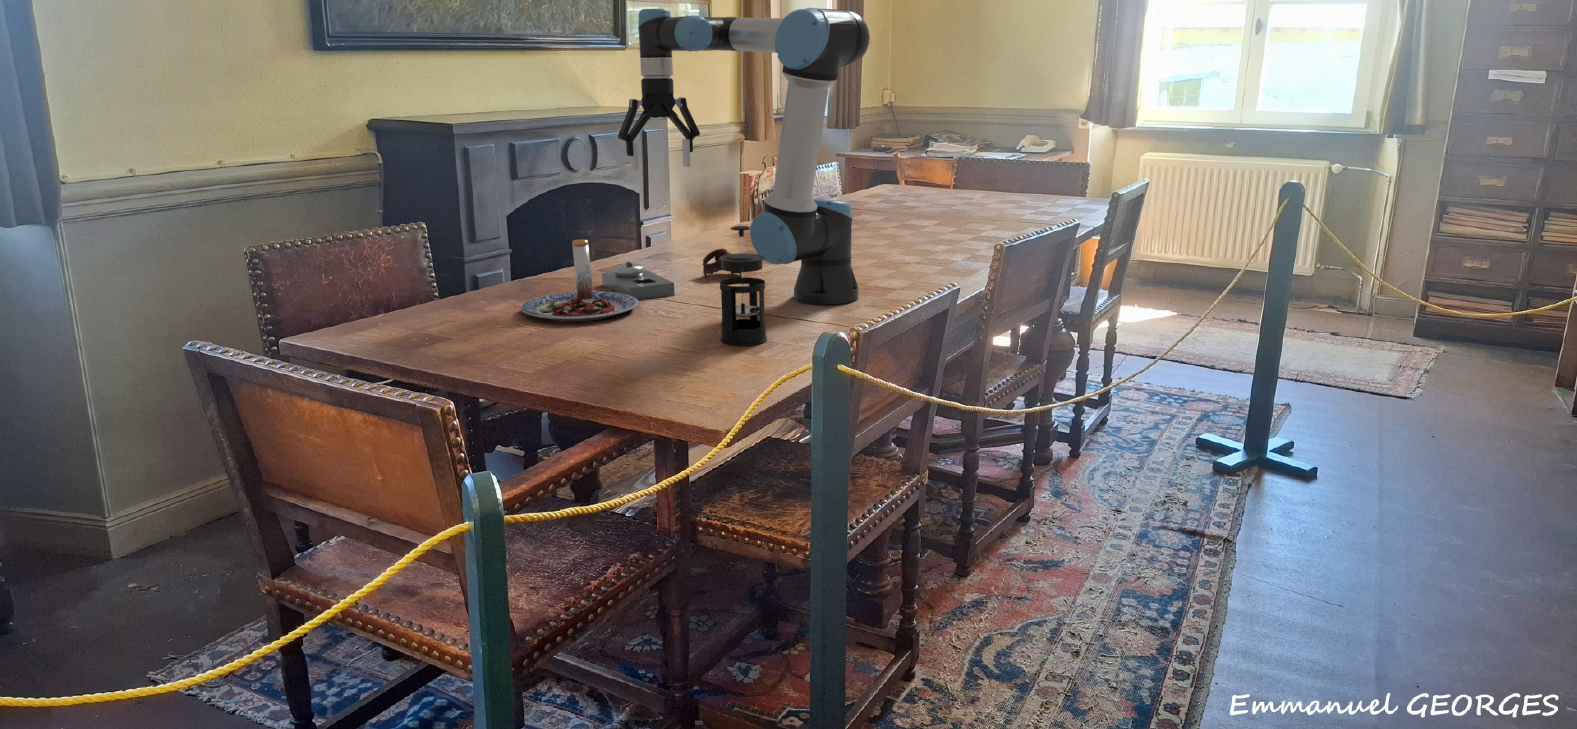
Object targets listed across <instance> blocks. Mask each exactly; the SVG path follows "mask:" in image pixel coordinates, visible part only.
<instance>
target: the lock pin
mask: <svg viewBox="0 0 1577 729" xmlns="http://www.w3.org/2000/svg"><path fill="white" fill-rule="evenodd" d="M571 243H572V244H571V245H572V253H573V254H572V256H573V264H574V275H575V276H574V277H575V278H574V279H575V285H576V286H575V290H576V292H577V299H579V300H587V299H592V298H593V292H594V291H593V281H592V270H591V258H590V256H591V255H590V246H589V245H590V244H589V240H588V239H587V238H586V239H585V238H583V239H582V238H581V239H574V240H572V242H571Z"/></svg>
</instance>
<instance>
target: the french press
mask: <svg viewBox="0 0 1577 729" xmlns="http://www.w3.org/2000/svg"><path fill="white" fill-rule="evenodd" d="M751 229H752V228H751V227H750V226H749V225H735V226H732V227H730V230H731V231H738V237H740V253H732V254H729V255H724V256H721V257H719V260H720V261H721V263H722V271H723V272H724V271H725V272H730V273H731V272H741V277H740V276H739V277H738V276H737V277H730V278H725V279H722V280H720V281H719V290H720V293H721V294H720V295H721V323H720V338H719V339H720V340H719V341H720V343H721V344H724V345H726V346H731V347H752V346H759V345H762V344H765V343H766V342H767V341H768V337H767V335H766V334H767V333H766V332H767V329H766V328H767V327H766V326H767V324H766V319H765V289H766V281H765V279H762V278H759V277H747V276H746V277H744V273H750V272H751V273H752V272H757V271H761V270H762V269H763V261H764V259H765V257H764V256H762V255H758V254H757V253H743V252H744V251H743V248H744V247H743V238H744V236H745V234H744V233H745V231H750V230H751ZM744 284H745V286H744ZM737 285H739V286H737ZM747 285H748V286H747ZM758 292H759V293H758ZM737 294H741V303H740V304H737ZM744 294H748V295H749V296H748V297H749V298H748V299H749V302H748V303H749V304H745V300H744V299H745V298H744V297H745V296H744ZM758 294H759V295H758ZM758 296H759V299H758ZM758 300H759V301H758ZM758 303H759V304H758ZM758 316H759V319H758ZM747 317H748V318H747ZM738 318H739V319H738Z"/></svg>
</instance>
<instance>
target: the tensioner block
mask: <svg viewBox="0 0 1577 729" xmlns="http://www.w3.org/2000/svg"><path fill="white" fill-rule="evenodd" d="M614 268H615V270H614V271H610V272H601V280H602V281H601V282H602V286H604V287H605V288H607V289H609V290H611V291H613V292H614V293H620V294H625V295H629V296H632V297H634V298H636V299H637V301H640V300H644V299H645V300H646V299H653V298H662V297H672V296H675V282H673V281H671V280H669V279H666V278H665V277H662V276H660V275H658V274H656V273H654V272H652V271H650V270H648V269H645V265H644V264H642V263H633V261H626V262H625V263H622V264H618V265H615V266H614Z"/></svg>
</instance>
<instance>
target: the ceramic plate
mask: <svg viewBox="0 0 1577 729" xmlns="http://www.w3.org/2000/svg"><path fill="white" fill-rule="evenodd" d="M638 304H639V300H637V299H636V298H634V297H632V296H629V295H625V294H620V293H616V292H614V291H613V292H612V291H598V290H597V291H593V298H592V299H587V300H579V299H577V291H571V292H569V291H568V292H562V293H561V292H559V293H555V294H554V293H553V294H548V295H542V296H539V297H536V298H532V299H529V300H527V301H525V302H524V303H522V304H521V306H520V310H521V312H522V313H524V314H526V315H529V316H531V317H536V318H542V319H546V318H547V319H548V320H550V319H551V320H550V321H556V320H559V321H558V322H587V321H594V320H595V321H596V320H603V319H606V318H607V319H608V318H609V317H614V316H615V315H619V314H622V313H627V312H628V311H631V310H633V309H634V308H636V307H637V306H638ZM543 313H552V314H549V315H548V314H547V315H546V314H545V315H544V314H543ZM547 319H546V320H547Z"/></svg>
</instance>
